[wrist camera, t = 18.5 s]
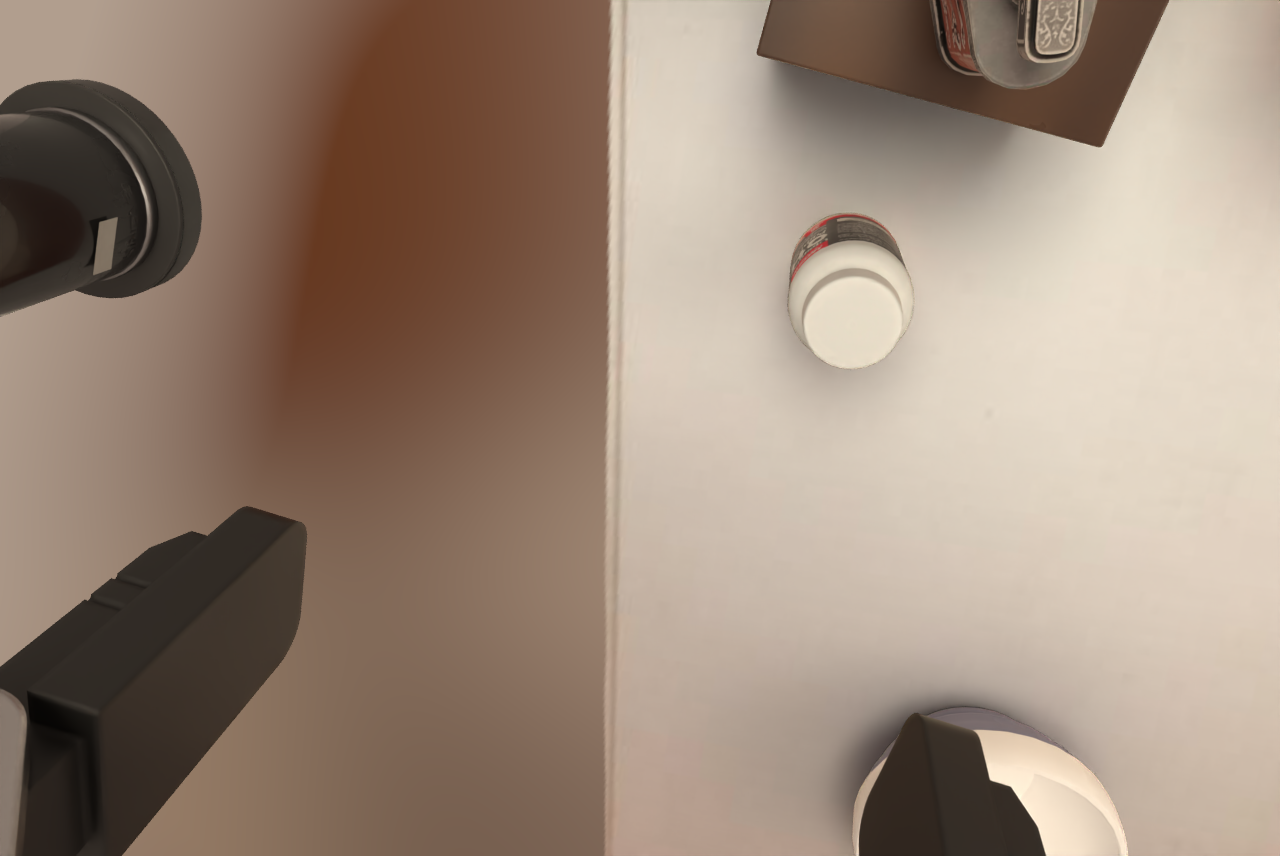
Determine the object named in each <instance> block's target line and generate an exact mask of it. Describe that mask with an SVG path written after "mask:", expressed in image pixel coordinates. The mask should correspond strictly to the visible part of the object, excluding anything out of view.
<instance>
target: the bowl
mask: <svg viewBox="0 0 1280 856" xmlns="http://www.w3.org/2000/svg"><path fill="white" fill-rule="evenodd" d="M927 716H928V717H931V718H934V719H938V720H941V721H944V722H947V723H951V724H954V725H957V726H960V727H964V728H967V729H970V730H973V731H975V732H976V733H977V734H978V736H979V738H980V741H981V745H982V749H983V753H984V757H985V761H986V765H987V769H988V774H989V778H990V780H991V781H994V782H997V783H1001V784H1004V785H1007V786H1010V787H1011V788H1012V789H1013V791H1014V792H1015V794H1016V795H1017V796H1018V798H1019V799H1020V801H1021V802H1022V804H1023V805H1024V807H1025V808H1026V810H1027V811H1028V813H1029V814H1030V816H1031V817H1032V819H1033V820H1034V822H1035V823H1036V825H1037V826H1038V829H1039V832H1040V836H1041V839H1042V843H1043V846H1044V850H1045V853H1046V856H1128V850H1127V842H1126V838H1125V834H1124V830H1123V827H1122V824H1121V821H1120V818H1119V816H1118V813H1117V810H1116V808H1115V806H1114V804H1113V803H1112V801H1111V799H1110V797H1109V795H1108V793H1107V791H1106V790H1105V789H1104V787H1103V786H1102V784H1101V783H1100V781H1099V780H1098V779H1097V777H1096V776H1095V775H1094V774H1093V773H1092V772H1091V771H1090V770H1089V769H1088V768H1087V767H1086V766H1085V765H1083V764H1082V763H1081V762H1080V761H1079V760H1078V759H1076V758H1075V757H1073V756H1072V755H1071V754H1070V753H1069V752H1068V751H1067V750H1066V749H1064V748H1063V747H1061V746H1060V745H1058V744H1056V743H1055V742H1053V741H1051V740H1050V739H1049V738H1048V737H1047V736H1045V735H1043V734H1042V733H1040V732H1038V731H1037V730H1035V729H1033V728H1032V727H1030V726H1027V725H1025V724H1022V723H1020V722H1017V721H1015V720H1013V719H1011V718H1010V717H1008V716H1006V715H1003V714H1001V713H998V712H996V711H992V710H987V709H983V708H974V707H958V708H949V709H944V710H940V711H936V712H934V713H931V714H929V715H927ZM896 740H897V739H895V740H894V741H893V742H892V743H891V744H890V745H889V746H888V747H887V748H886V750H885V751H884V753H883V754H882V756H881V757H880V758H879V759H878V760H877V762H876V763H875V765H874V766H873V768H872V769H871V771H870V772H869V774H868V775H867V777H866V779H865V781H864V783H863V785H862V786H861V788H860V789H859V792H858V795H857V798H856V801H855V804H854V815H853V833H852V842H853V848H854V853H855V856H859V830H860V823H861V818H862V814H863V810H864V806H865V803H866V800H867V798H868V795H869V793H870V791H871V789H872V787H873V785H874V783H875V781H876V779H877V777H878V775H879V773H880V771H881V769H882V767H883V765H884V763H885V761H886V759H887V757H888V755H889V753H890V751H891V750H892V748H893V746H894V744H895V742H896Z"/></svg>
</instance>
